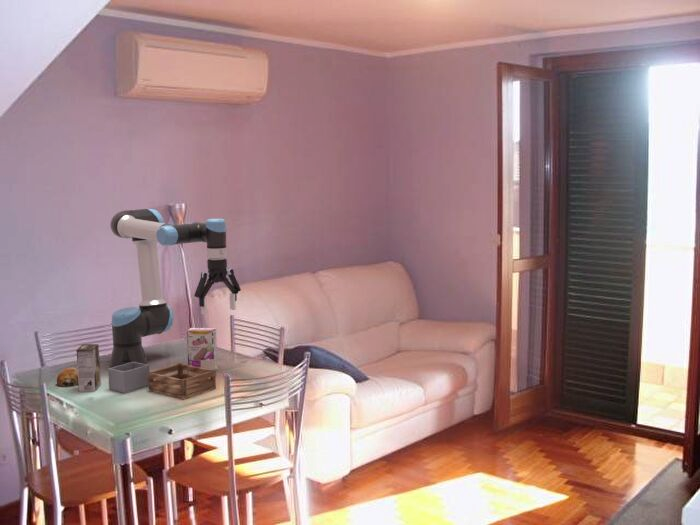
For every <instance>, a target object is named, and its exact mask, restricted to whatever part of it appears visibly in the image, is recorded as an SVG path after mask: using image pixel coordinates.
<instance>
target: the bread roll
mask: <svg viewBox="0 0 700 525" xmlns="http://www.w3.org/2000/svg"><path fill="white" fill-rule="evenodd" d="M56 383H57V385H58V386H59V387H63V386H69V387H75V385H76V386H79V383H78V368H76V367H72V366H71V367H66V368H64V369H63V370H61V371H60V372H59V373H58V375H57V378H56Z"/></svg>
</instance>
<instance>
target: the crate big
mask: <svg viewBox="0 0 700 525" xmlns="http://www.w3.org/2000/svg"><path fill="white" fill-rule="evenodd" d="M184 371H187V372H190V373H191V372H192V373H195V374H197V375H193V374H189V373H184ZM173 372H177V373H174V374H171V375H167V374H169V373H173ZM216 386H217V385H216V369H215V370H209V369H205V368H200V367H195V366H190V365H188V364H185V363H183V362H179V363H177V364H173V365H171V366H167V367H163V368H160V369H157V370H154V371H150V372H148V386H147V387H148V392H153V393H157V394H161V395H165V396H169V397H174V398H178V399H182V400H185V399H189V398H191V397H195V396H197V395H200V394H203V393H207V392H209V391H212V390H214V389H217V387H216Z"/></svg>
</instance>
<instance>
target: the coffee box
mask: <svg viewBox="0 0 700 525" xmlns="http://www.w3.org/2000/svg"><path fill="white" fill-rule="evenodd" d="M99 346H100V345H99V344H98V343H95V344H94V343H93V344H92V343H88V344H87V343H86V344H83V343H82V344H81V345H80V346H79V347H78V348H77V349H76V362H77V363H76V364H77V369H78V383H79V385H78V393H79V392H80V393H81V392H82V393H83V392H96V391H97V390H98V389H99V387H100V386H101V385H102V379H101V378H102V377H101V367H100V366H101V363H100V348H99Z"/></svg>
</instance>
